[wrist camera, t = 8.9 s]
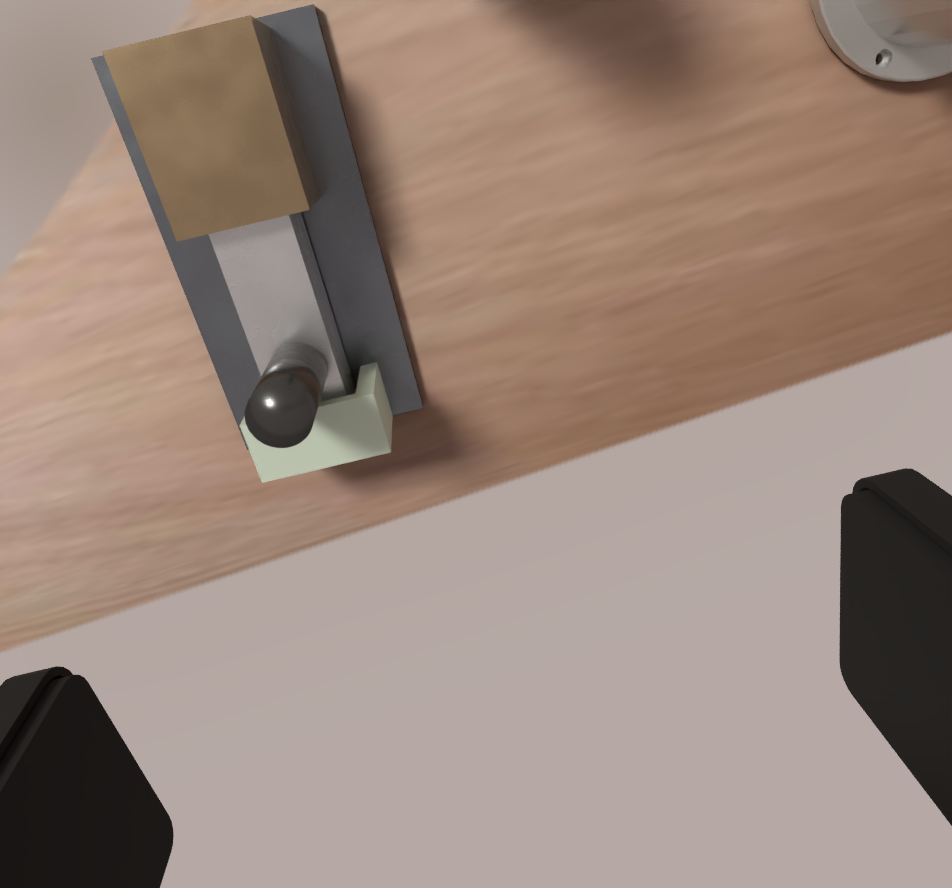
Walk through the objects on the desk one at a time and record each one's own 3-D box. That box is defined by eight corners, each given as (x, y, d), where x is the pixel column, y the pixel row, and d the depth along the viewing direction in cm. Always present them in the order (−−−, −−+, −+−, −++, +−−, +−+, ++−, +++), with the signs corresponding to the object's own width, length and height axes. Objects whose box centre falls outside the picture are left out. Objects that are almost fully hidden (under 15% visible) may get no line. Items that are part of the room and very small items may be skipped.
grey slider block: (285, 157, 37) (246, 173, 28) (362, 403, 43) (350, 483, 34) (206, 176, 37) (140, 198, 28) (293, 419, 43) (263, 503, 34)
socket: (377, 362, 42) (373, 393, 37) (392, 415, 44) (390, 452, 39) (257, 390, 42) (239, 425, 38) (277, 442, 44) (262, 482, 39)
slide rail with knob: (314, 5, 35) (299, -12, 30) (422, 404, 44) (424, 442, 39) (95, 59, 35) (43, 51, 30) (249, 445, 44) (229, 489, 39)
